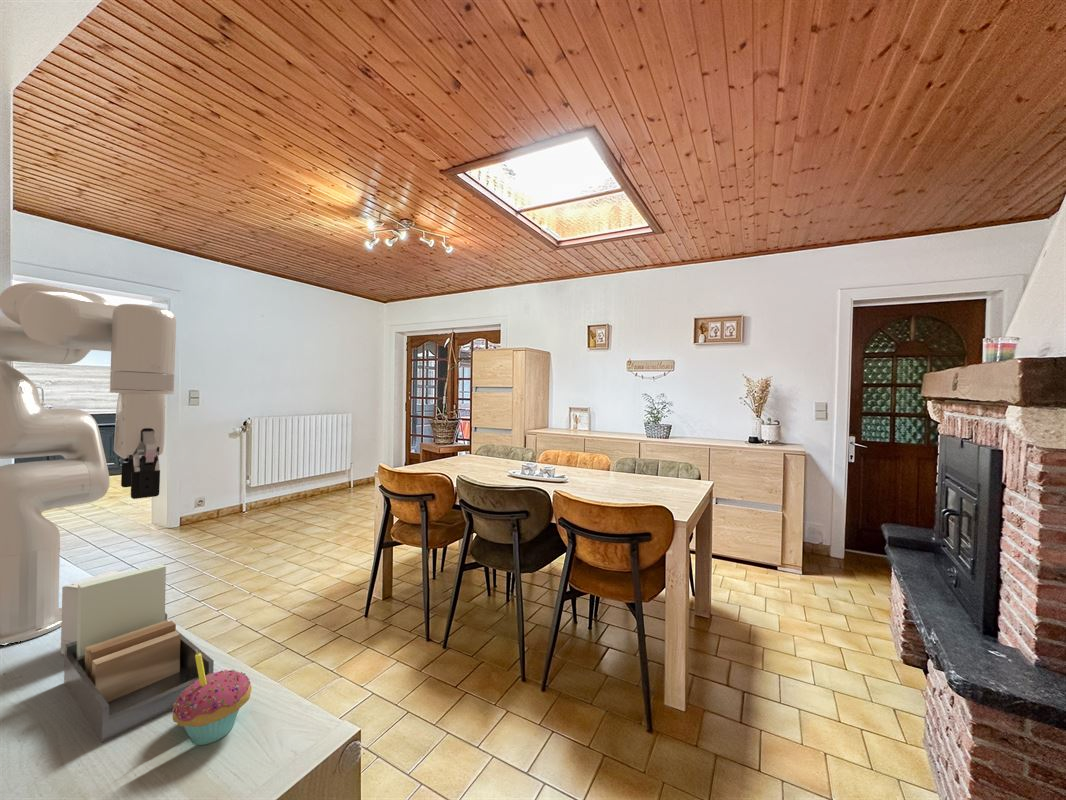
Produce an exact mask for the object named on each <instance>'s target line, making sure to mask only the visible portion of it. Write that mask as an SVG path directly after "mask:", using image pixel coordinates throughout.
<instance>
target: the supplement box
mask: <svg viewBox="0 0 1066 800" xmlns="http://www.w3.org/2000/svg"><path fill="white" fill-rule="evenodd" d="M126 572H127V571H118V570H110V571H105V572H103V573H100V574H98V575H94V576H91V577H88V578H84V579H82V580H78V581H76V582H73V583H70V584H67V585H64V586H62V589H61V590H62V592H61V594H62V595H61V608H62V623H61V626H60V627H61V628H60V654H62V655H65V644H68V643H71V642H74V641H77V602H78V584H81V583H85V582H89V581H93V580H97V579H102V578H106V577H110V576H114V575H118V574H122V573H126Z"/></svg>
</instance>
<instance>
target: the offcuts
mask: <svg viewBox="0 0 1066 800" xmlns="http://www.w3.org/2000/svg"><path fill="white" fill-rule="evenodd" d="M176 626H177V624H176V623H175V622H174V621H172V620H168V619H167V620H166V621H163V622H160V623H157V624H154V625H151V626H148V627H145V628H142V629H139V630H136V631H133V632H130V633H127V634H124V635H121V636H118V637H115V638H112V639H109V640H106V641H103V642H100V643H97V644H94V645H91V646H88V647H85V673H86V674H87V676H88V677H89V678H90V680H91V681H92V682H93V684H94V685H95V687H96V688H97V689H98V691H99V692H100V693H101V695H102V696H103V698H104V699H105V700H106V702H109V701H112V700H114V699H116V698H119V697H121V696H124V695H126V694H128V693H131V692H133V691H135V690H138V689H140V688H143V687H145V686H147V685H150V684H152V683H154V682H157V681H159V680H161V679H164V678H166V677H169V676H171V675H173V674H176V673H178V672H180V632H179V631H178V630H177V628H176ZM176 630H177V631H178V632H179V633H178V632H177V631H176Z"/></svg>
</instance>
